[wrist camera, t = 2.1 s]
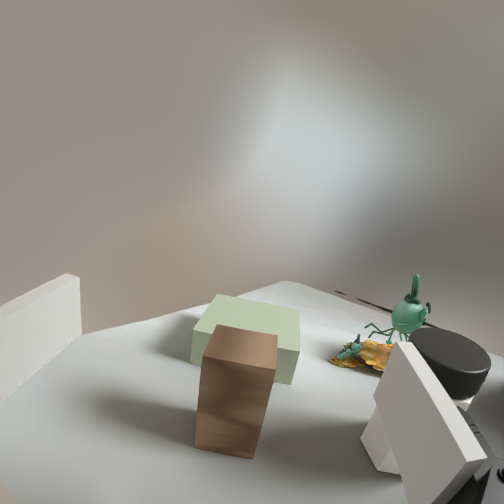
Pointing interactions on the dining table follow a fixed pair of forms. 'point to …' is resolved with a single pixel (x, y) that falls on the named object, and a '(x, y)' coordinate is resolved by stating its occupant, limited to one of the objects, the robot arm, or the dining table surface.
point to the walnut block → (234, 390)
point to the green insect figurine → (403, 320)
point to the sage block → (252, 329)
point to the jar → (449, 375)
